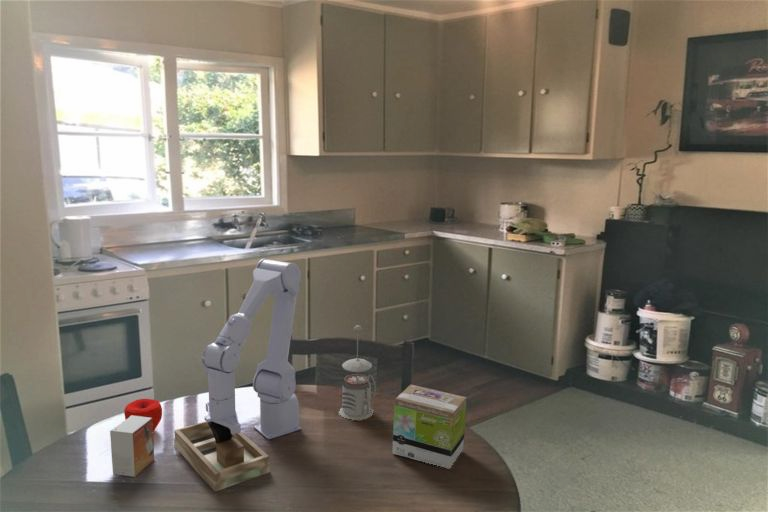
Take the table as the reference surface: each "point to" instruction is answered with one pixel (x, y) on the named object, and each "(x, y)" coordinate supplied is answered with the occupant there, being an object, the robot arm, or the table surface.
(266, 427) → the robot arm
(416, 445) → the tea box
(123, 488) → the table surface
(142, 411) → the apple
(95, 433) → the table surface
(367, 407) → the french press
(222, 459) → the walnut block
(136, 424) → the small box
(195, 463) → the box
